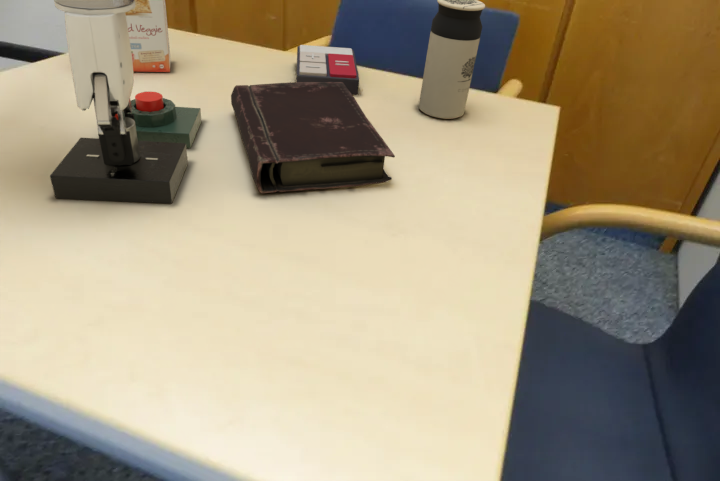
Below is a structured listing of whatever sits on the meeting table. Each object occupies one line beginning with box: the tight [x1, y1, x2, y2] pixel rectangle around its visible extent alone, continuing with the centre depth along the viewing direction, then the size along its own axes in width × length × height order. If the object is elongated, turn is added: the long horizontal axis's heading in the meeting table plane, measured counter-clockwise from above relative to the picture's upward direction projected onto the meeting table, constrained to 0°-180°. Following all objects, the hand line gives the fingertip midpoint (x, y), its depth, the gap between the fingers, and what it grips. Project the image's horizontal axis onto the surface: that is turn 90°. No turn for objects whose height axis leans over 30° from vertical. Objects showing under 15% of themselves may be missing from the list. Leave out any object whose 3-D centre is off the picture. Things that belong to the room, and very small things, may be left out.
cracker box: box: [125, 0, 172, 73], centre depth 94 cm, size 14×6×21 cm, turn 104°
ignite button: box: [134, 91, 164, 112], centre depth 77 cm, size 4×4×2 cm
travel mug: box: [418, 0, 486, 120], centre depth 91 cm, size 8×8×18 cm
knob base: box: [49, 137, 189, 205], centre depth 67 cm, size 13×10×3 cm
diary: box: [230, 81, 396, 194], centre depth 79 cm, size 19×25×5 cm
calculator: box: [295, 44, 360, 96], centre depth 103 cm, size 11×4×15 cm
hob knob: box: [114, 114, 140, 166], centre depth 65 cm, size 4×4×5 cm
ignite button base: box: [128, 97, 202, 149], centre depth 79 cm, size 12×9×4 cm
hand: (121, 153), depth 66 cm, fingers closed on hob knob, 4 cm apart
